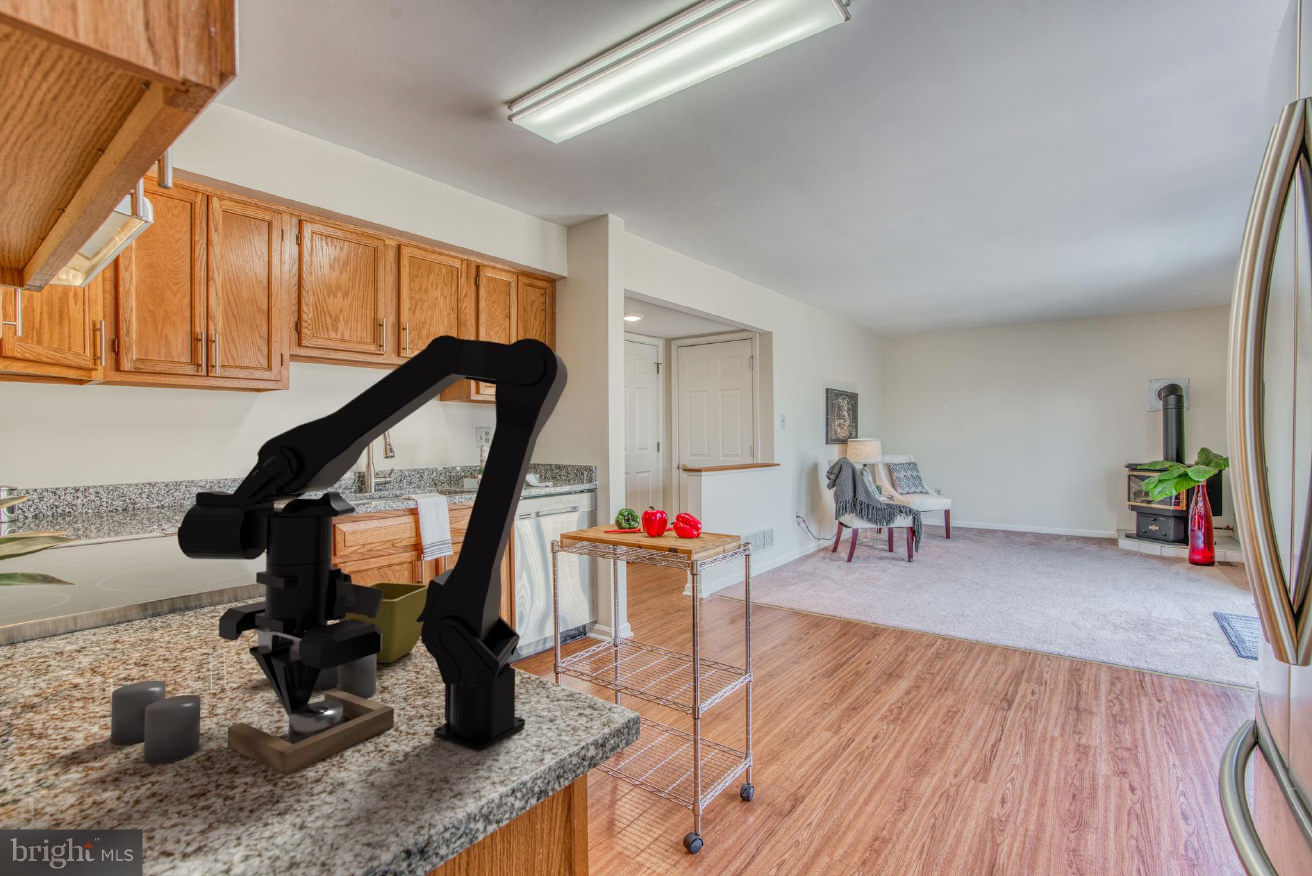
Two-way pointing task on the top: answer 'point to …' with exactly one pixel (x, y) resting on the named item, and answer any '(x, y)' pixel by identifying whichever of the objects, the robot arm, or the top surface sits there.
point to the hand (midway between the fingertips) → (296, 716)
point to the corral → (292, 757)
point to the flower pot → (397, 618)
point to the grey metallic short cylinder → (314, 719)
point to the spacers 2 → (351, 677)
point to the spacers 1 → (156, 721)
